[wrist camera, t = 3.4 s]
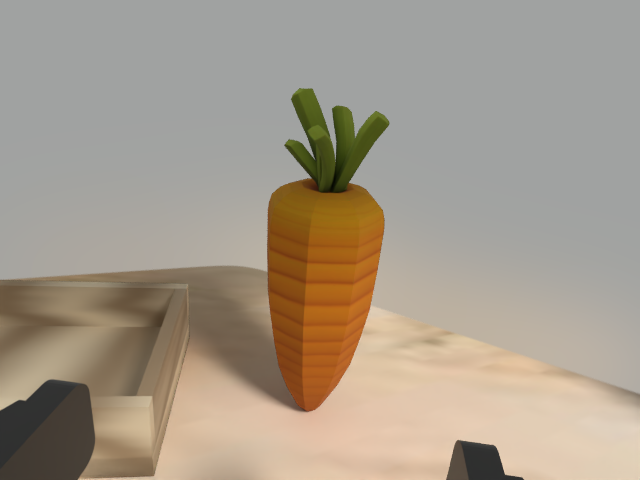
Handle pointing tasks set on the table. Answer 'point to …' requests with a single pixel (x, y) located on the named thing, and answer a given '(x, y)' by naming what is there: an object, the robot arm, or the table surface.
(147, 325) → the oak tray
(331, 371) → the carrot
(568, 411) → the table surface
